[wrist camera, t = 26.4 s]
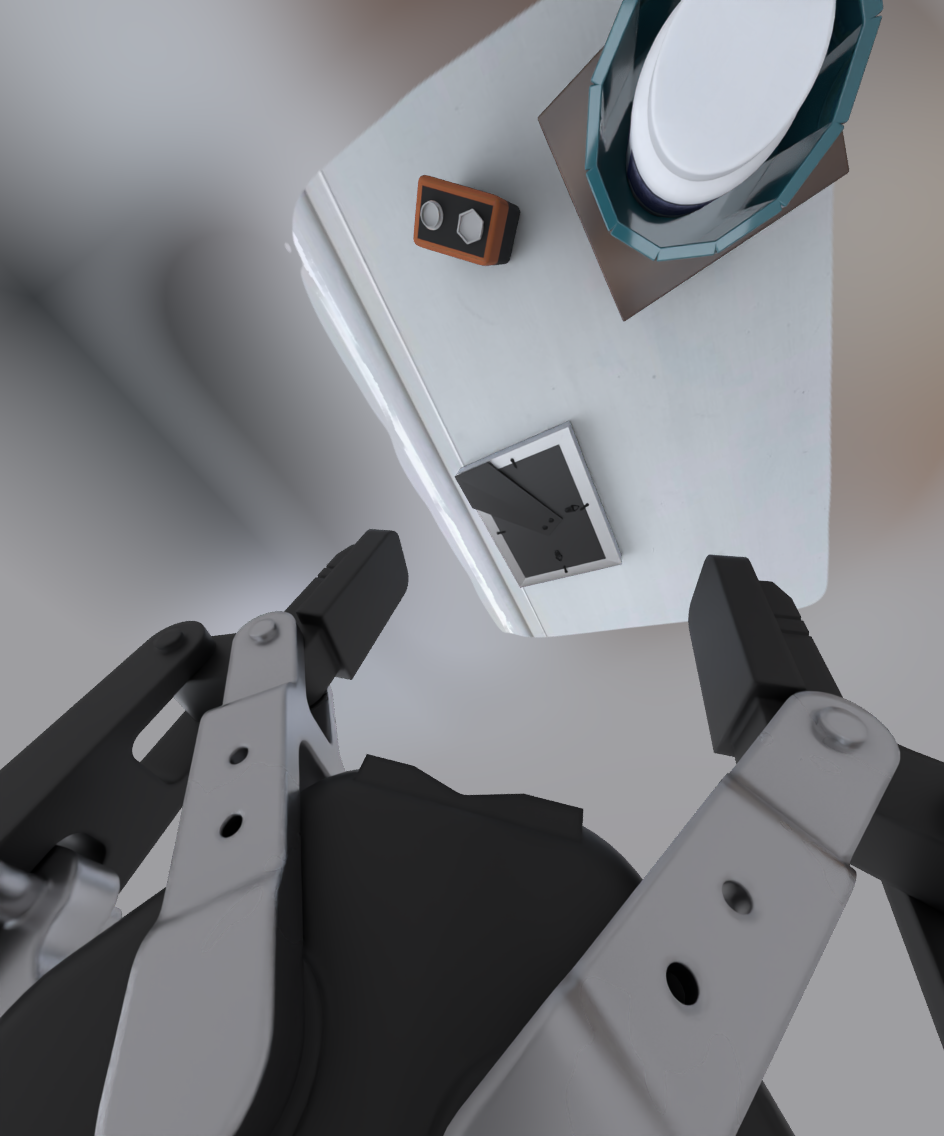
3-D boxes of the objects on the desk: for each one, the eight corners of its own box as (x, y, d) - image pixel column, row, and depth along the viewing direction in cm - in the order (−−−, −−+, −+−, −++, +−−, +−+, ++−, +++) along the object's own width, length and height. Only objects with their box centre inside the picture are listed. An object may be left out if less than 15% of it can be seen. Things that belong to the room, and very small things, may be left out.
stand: (567, 172, 34) (536, 117, 20) (707, 39, 28) (794, -162, 14) (619, 298, 38) (623, 322, 25) (750, 206, 32) (850, 171, 19)
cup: (563, 122, 20) (545, 75, 15) (770, -92, 15) (851, -271, 10) (632, 295, 24) (638, 307, 18) (819, 166, 19) (899, 132, 14)
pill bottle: (757, 182, 19) (848, 137, 12) (633, 239, 22) (644, 232, 14) (759, 7, 16) (881, -199, 9) (616, 96, 19) (618, -8, 11)
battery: (509, 265, 39) (484, 268, 31) (446, 246, 39) (406, 244, 32) (522, 207, 36) (498, 194, 28) (453, 187, 36) (412, 170, 29)
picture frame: (460, 468, 54) (522, 579, 63) (454, 476, 52) (519, 590, 61) (569, 420, 46) (621, 555, 55) (567, 428, 44) (622, 567, 53)
